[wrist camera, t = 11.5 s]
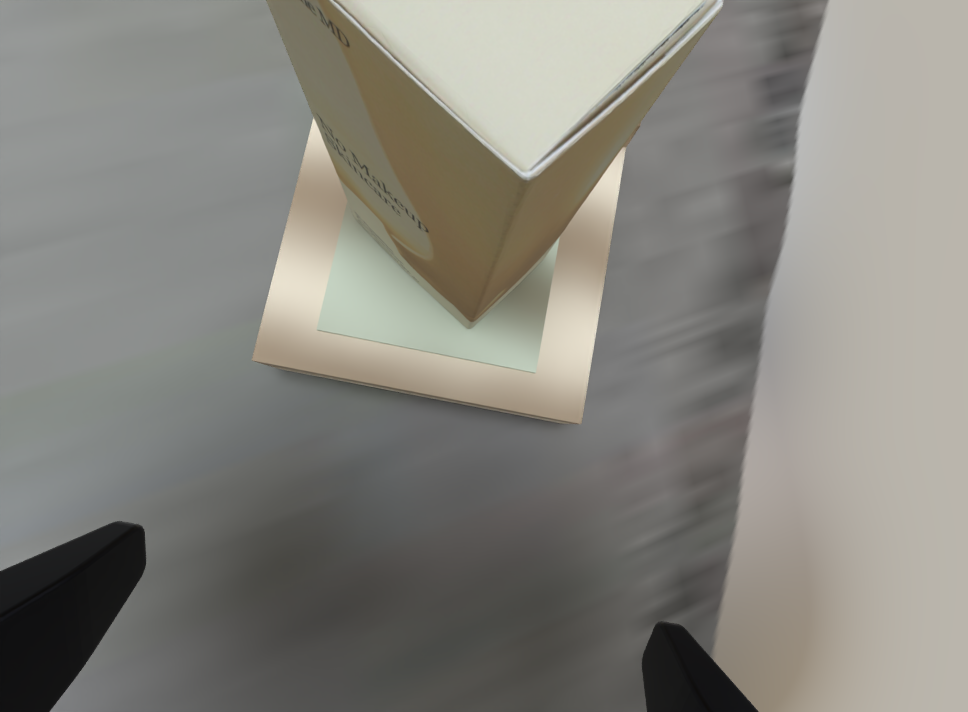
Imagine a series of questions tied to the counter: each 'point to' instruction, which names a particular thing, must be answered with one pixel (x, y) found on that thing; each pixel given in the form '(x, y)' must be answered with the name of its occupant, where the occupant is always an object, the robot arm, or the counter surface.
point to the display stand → (434, 309)
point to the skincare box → (479, 120)
